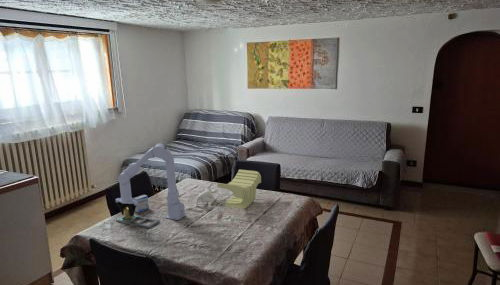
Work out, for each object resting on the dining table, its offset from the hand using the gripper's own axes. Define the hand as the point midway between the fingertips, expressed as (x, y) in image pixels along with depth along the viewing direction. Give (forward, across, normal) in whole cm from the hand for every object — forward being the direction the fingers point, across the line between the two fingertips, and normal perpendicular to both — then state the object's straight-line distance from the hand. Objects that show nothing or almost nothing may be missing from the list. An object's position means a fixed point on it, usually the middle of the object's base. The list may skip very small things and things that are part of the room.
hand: (128, 215), depth 195 cm
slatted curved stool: (+3, -52, -44) cm, 68 cm away
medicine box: (+3, +2, -14) cm, 15 cm away
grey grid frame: (+3, -7, 0) cm, 8 cm away
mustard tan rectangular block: (+2, 0, 0) cm, 2 cm away
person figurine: (+3, -31, -38) cm, 49 cm away
